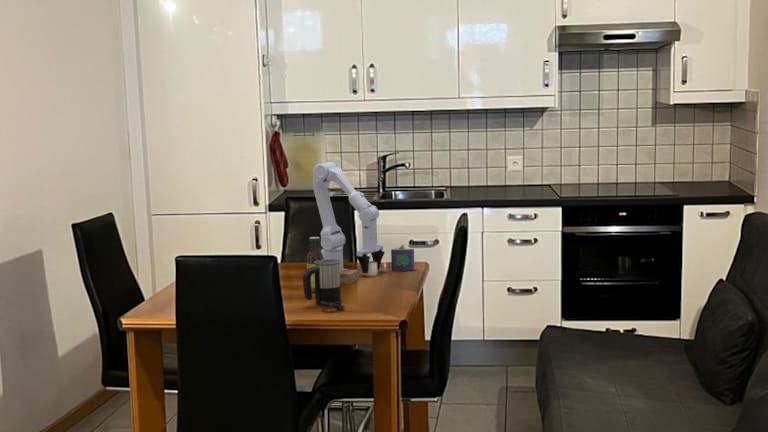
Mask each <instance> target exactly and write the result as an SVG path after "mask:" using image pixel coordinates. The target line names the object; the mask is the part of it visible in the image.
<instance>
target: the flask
mask: <svg viewBox="0 0 768 432" xmlns="http://www.w3.org/2000/svg"><path fill="white" fill-rule="evenodd" d="M390 256H391V257H390V258H391V259H390V260H391V271H392V272H395V273H396V272H397V273H398V272H412V271H413V272H414V271H415V269H416V268H415V249H414V248H412V247H411V248H409V247H408V248H405V244H400V247H393V248H391V250H390Z"/></svg>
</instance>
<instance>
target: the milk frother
mask: <svg viewBox="0 0 768 432" xmlns="http://www.w3.org/2000/svg"><path fill="white" fill-rule="evenodd" d="M314 263H315V267H311V268H308V269H307V268H306V269H305V270H304V272H303V274H302V283H303V285H302V286H303V294H304V299H306V300H308V301H311V300H313V292H312V290H311V276H312V274H314V273H315V292H314V298H315V305H317V306H319V307H322V306H323V307H332V308H333V309H336V310H337V311H340V310H341V309H342V308H344V309H345V305H344V304H342V303H343V300H342V295H341V283H340V261H339V260H334V259H325V260H318V261H315V262H314Z"/></svg>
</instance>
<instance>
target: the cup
mask: <svg viewBox="0 0 768 432" xmlns="http://www.w3.org/2000/svg"><path fill="white" fill-rule="evenodd" d="M364 276H366V277H375V276H378V270H377V262H376V261H373V260H369V264H368V273H364Z"/></svg>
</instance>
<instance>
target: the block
mask: <svg viewBox="0 0 768 432" xmlns="http://www.w3.org/2000/svg"><path fill="white" fill-rule="evenodd" d="M359 280H360V276H359V269H348V268H343V269H340V285H341V284H342V285H345V284H346V285H352V284H353V283H355V282H357V281H359Z"/></svg>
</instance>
